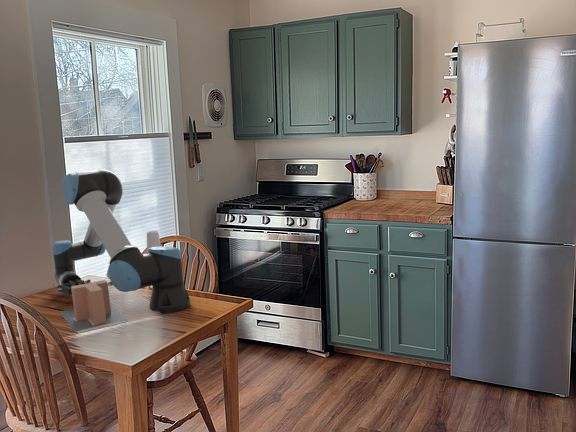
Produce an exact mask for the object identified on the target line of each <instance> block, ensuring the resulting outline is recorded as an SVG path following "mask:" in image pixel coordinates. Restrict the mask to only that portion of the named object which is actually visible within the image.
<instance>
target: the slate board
mask: <svg viewBox="0 0 576 432" xmlns="http://www.w3.org/2000/svg"><path fill="white" fill-rule="evenodd" d="M110 307H111V314H108V315H106V321H107V322H106V323H102V324H98V325H95V324H94V323H93V322H92V321H91V320H90V319H85V320H81V321H77V320H76V319H75V314H74V308H70V309H65V310H61V311H58V313H59V314H60V315H61V316H62V317H63V318H64V320H65V321H66V323H67V324H68V325H69V326H70V328H72V331H74V332H78V333H76V335H77V334H79V331H82V330H83V331H82V332H80V334H82V333H87V332H90V331H92V328H94V329H93V331H95V330H96V329H95V327H99V328H97V330H98V329H103V328H108V327H109V324H112V325H110V327H112V326H113V323H116V324H114V326H116V325H120V324H124V323H126V321H125V320H128V318H127V317H125V316H124V315H123V314H122V313H121V312H119V310H117V309H116V308H115V307H114V306H113V305H112V304H110ZM122 321H124V322H122ZM117 322H120V323H117ZM104 325H107V326H104ZM100 326H103V327H100ZM88 329H90V330H88ZM84 330H86V331H84Z"/></svg>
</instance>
